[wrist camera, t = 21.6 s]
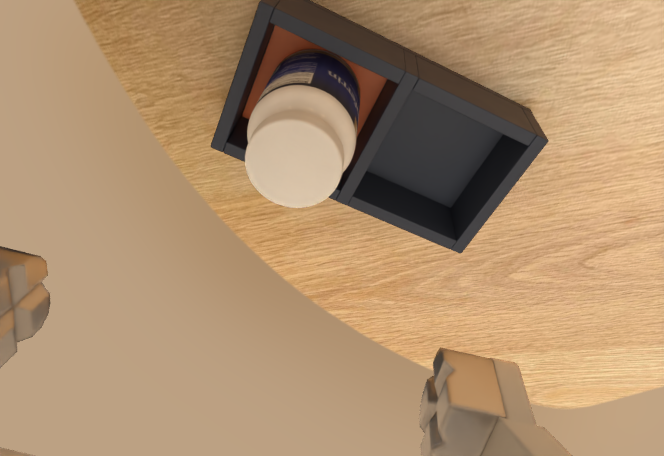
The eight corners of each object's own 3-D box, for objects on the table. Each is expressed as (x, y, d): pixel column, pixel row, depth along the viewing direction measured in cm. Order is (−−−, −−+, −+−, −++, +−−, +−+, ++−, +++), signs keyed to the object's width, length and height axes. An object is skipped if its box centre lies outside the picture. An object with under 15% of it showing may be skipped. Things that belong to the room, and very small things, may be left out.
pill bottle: (373, 118, 33) (370, 200, 25) (292, 145, 35) (265, 231, 27) (341, 31, 30) (325, 92, 22) (255, 65, 32) (210, 133, 24)
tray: (228, 116, 35) (209, 147, 31) (275, -17, 30) (259, 0, 26) (453, 215, 38) (461, 254, 34) (530, 109, 33) (549, 141, 29)
